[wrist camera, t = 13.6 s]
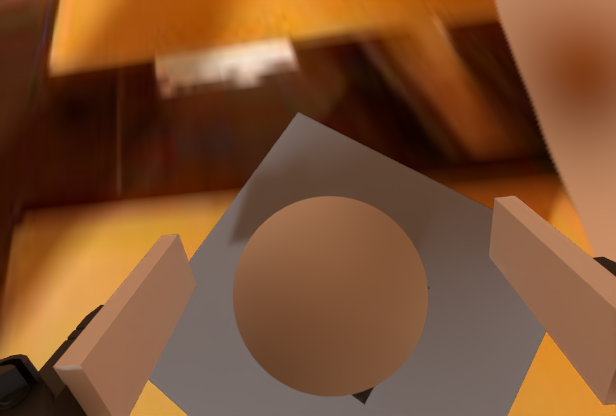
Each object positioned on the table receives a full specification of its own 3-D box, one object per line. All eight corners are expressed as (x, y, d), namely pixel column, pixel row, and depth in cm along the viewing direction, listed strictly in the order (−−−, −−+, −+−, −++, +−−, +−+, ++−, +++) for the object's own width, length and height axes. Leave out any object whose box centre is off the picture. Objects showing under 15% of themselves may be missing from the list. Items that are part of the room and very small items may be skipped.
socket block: (171, 348, 22) (120, 354, 17) (309, 152, 25) (298, 112, 20) (397, 539, 17) (412, 619, 13) (530, 270, 21) (581, 254, 16)
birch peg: (298, 321, 20) (195, 316, 7) (334, 264, 21) (300, 166, 8) (356, 362, 19) (361, 446, 6) (392, 300, 20) (464, 257, 7)
